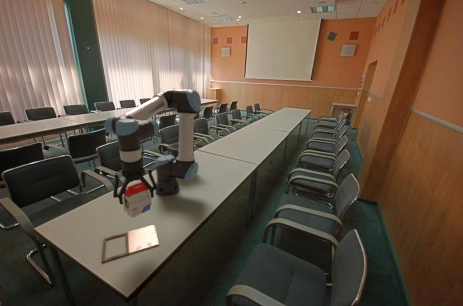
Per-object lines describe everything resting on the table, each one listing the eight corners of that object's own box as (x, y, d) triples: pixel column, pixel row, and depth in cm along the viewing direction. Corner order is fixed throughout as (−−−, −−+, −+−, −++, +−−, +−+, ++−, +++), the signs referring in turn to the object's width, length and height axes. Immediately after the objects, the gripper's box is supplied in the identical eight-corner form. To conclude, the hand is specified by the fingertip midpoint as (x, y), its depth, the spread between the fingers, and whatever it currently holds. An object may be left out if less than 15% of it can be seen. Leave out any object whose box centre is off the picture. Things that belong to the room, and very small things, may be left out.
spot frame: (128, 232, 98) (127, 231, 98) (129, 254, 86) (129, 253, 86) (103, 239, 93) (103, 238, 93) (101, 262, 82) (101, 261, 82)
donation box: (194, 171, 164) (193, 137, 155) (177, 177, 153) (175, 141, 143) (182, 165, 174) (181, 133, 165) (165, 170, 163) (163, 136, 153)
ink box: (145, 205, 94) (141, 176, 89) (150, 209, 91) (147, 180, 86) (126, 213, 88) (121, 183, 83) (132, 218, 85) (127, 187, 80)
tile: (154, 225, 103) (154, 224, 103) (159, 244, 92) (158, 243, 91) (128, 232, 98) (127, 231, 98) (129, 254, 86) (129, 252, 86)
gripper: (159, 152, 89) (163, 196, 97) (99, 159, 79) (109, 208, 87) (162, 158, 83) (166, 205, 90) (98, 166, 73) (108, 218, 81)
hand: (138, 206), depth 89 cm, fingers closed on ink box, 9 cm apart
